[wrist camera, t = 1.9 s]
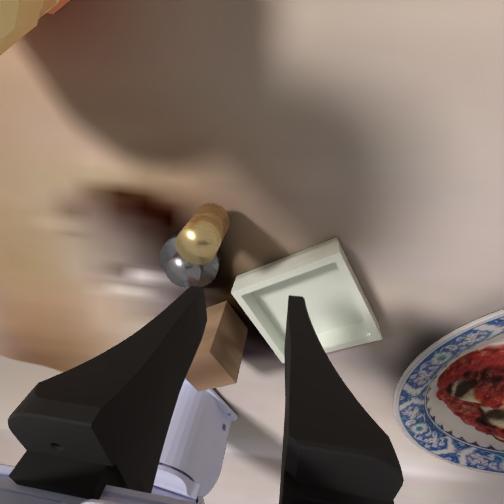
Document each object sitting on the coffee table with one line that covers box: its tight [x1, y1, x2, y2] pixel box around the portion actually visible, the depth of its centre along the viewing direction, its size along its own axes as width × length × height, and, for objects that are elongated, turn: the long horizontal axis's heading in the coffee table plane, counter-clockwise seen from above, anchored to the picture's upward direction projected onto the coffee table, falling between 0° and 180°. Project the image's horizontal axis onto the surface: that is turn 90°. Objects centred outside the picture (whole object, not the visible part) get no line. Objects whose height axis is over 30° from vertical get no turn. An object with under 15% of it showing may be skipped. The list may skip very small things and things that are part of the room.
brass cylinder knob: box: [166, 203, 230, 287], centre depth 21 cm, size 8×3×4 cm, turn 150°
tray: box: [231, 237, 382, 363], centre depth 25 cm, size 9×9×2 cm
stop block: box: [185, 301, 248, 392], centre depth 27 cm, size 4×4×6 cm
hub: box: [160, 231, 221, 287], centre depth 25 cm, size 5×5×1 cm
